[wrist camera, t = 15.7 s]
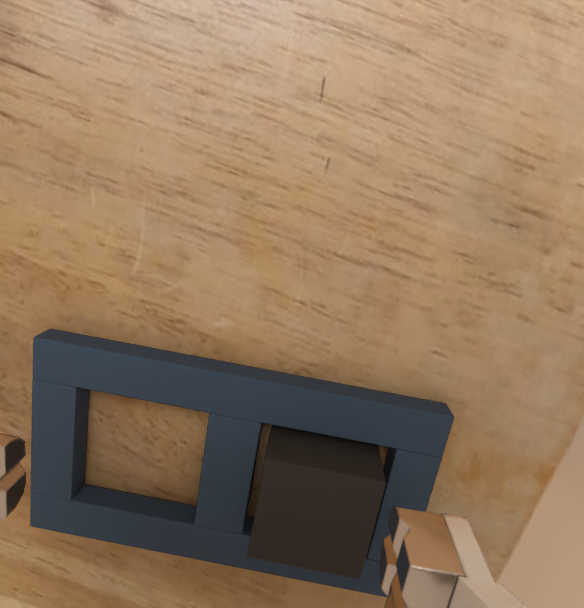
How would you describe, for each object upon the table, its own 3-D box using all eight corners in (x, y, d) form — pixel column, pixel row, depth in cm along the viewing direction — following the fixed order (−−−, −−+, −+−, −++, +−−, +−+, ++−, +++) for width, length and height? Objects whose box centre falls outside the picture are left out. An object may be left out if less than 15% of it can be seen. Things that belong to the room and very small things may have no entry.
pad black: (377, 442, 24) (386, 482, 21) (355, 529, 26) (360, 580, 23) (272, 421, 24) (264, 458, 21) (256, 510, 26) (246, 557, 23)
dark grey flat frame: (446, 403, 23) (454, 417, 22) (394, 577, 27) (399, 600, 25) (50, 328, 24) (32, 336, 22) (45, 508, 27) (29, 526, 26)
